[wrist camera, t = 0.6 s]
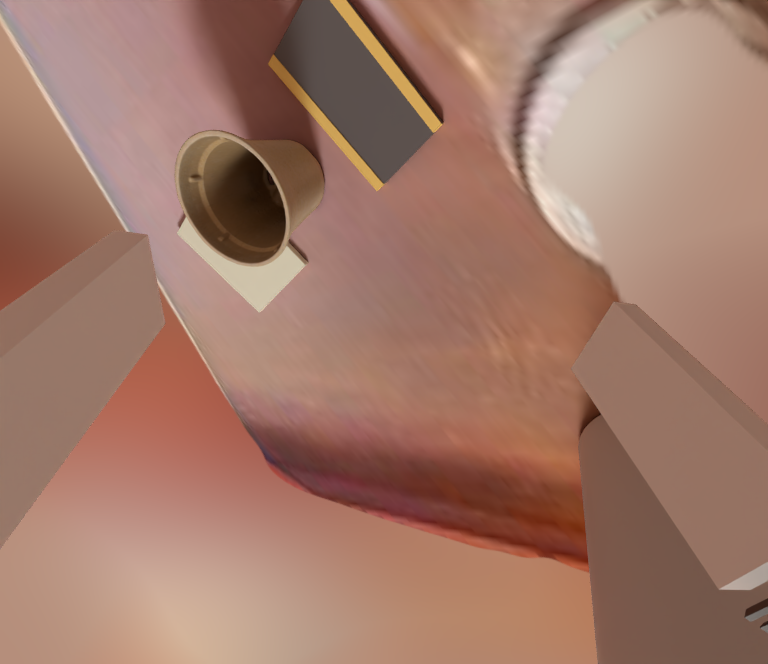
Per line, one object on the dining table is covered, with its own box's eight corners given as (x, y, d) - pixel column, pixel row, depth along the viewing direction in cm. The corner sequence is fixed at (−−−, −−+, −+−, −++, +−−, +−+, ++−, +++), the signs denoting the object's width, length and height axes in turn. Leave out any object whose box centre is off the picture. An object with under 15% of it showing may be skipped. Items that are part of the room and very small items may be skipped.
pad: (216, 167, 35) (212, 168, 34) (308, 262, 38) (305, 265, 37) (181, 231, 41) (176, 233, 40) (262, 310, 44) (259, 312, 43)
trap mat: (325, -31, 24) (320, -34, 24) (443, 123, 27) (441, 124, 26) (273, 64, 28) (267, 64, 28) (379, 189, 31) (376, 191, 30)
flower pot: (228, 145, 33) (150, 165, 27) (307, 93, 29) (235, 102, 22) (282, 241, 37) (226, 280, 31) (360, 209, 33) (313, 246, 26)
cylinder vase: (757, 407, 31) (1115, 982, 11) (710, 497, 37) (887, 958, 18) (586, 390, 35) (636, 782, 16) (571, 474, 42) (595, 821, 23)
